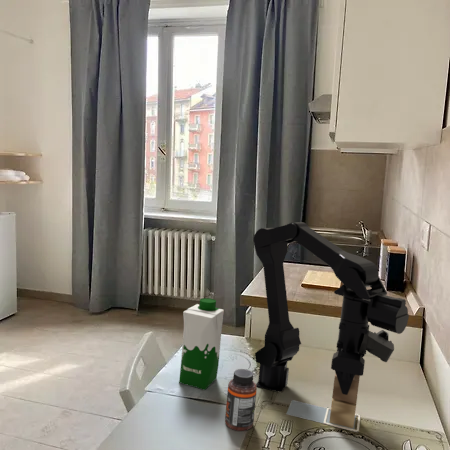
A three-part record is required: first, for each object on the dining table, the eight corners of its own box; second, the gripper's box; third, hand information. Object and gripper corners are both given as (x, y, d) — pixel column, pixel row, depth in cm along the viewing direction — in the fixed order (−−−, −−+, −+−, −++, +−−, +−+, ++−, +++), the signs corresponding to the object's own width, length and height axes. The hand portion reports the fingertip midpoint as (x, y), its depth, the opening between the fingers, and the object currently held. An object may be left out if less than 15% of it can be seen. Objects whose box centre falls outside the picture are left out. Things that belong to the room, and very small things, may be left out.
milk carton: (221, 378, 116) (228, 301, 113) (206, 393, 107) (213, 310, 105) (190, 369, 119) (196, 295, 116) (173, 383, 110) (179, 303, 108)
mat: (286, 414, 100) (286, 413, 100) (292, 400, 107) (292, 399, 107) (354, 431, 96) (354, 431, 96) (355, 416, 102) (356, 415, 102)
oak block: (329, 422, 98) (331, 400, 98) (331, 411, 103) (334, 390, 103) (353, 428, 97) (356, 406, 96) (354, 417, 102) (357, 395, 101)
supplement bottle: (223, 416, 98) (228, 365, 96) (250, 417, 98) (255, 366, 97) (225, 432, 92) (230, 378, 91) (255, 433, 92) (260, 379, 91)
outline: (323, 423, 98) (323, 422, 98) (327, 408, 105) (327, 407, 105) (358, 432, 95) (358, 431, 95) (360, 415, 102) (360, 415, 102)
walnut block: (332, 398, 98) (334, 376, 97) (334, 388, 103) (337, 367, 102) (356, 404, 96) (359, 381, 96) (357, 393, 101) (360, 372, 100)
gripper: (395, 340, 86) (385, 418, 88) (393, 314, 104) (384, 379, 105) (335, 329, 90) (326, 404, 91) (343, 305, 107) (335, 369, 109)
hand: (345, 388), depth 99 cm, fingers open, 5 cm apart
